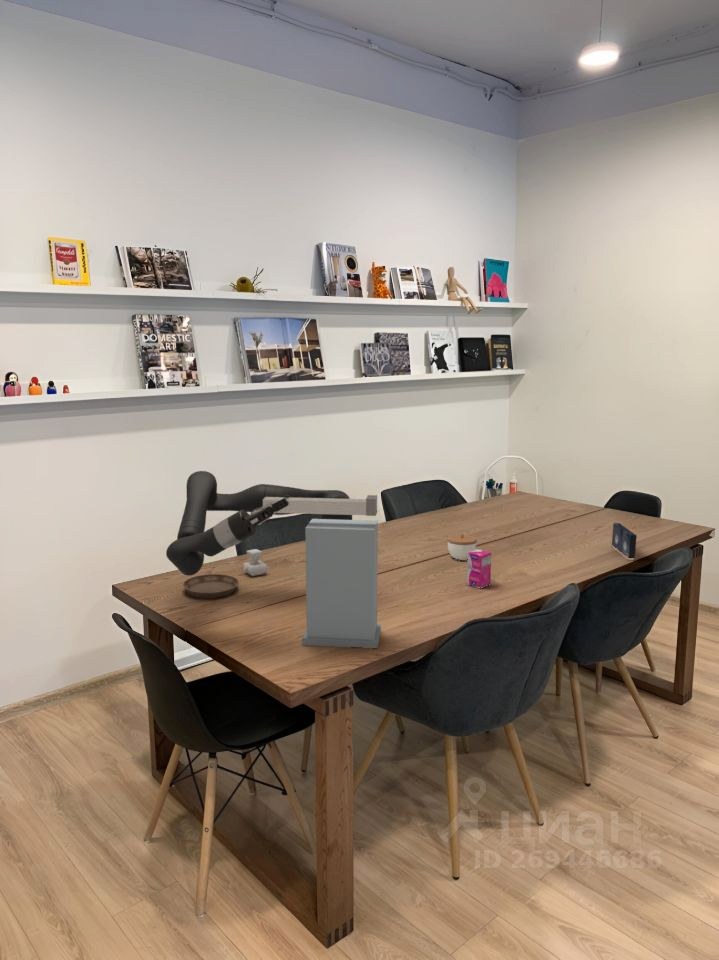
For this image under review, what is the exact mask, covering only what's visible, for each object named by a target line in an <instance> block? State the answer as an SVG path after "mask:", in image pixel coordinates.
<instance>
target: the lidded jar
mask: <svg viewBox="0 0 719 960" xmlns="http://www.w3.org/2000/svg"><path fill="white" fill-rule="evenodd" d="M446 539H447V540H446V541H447V549H448V553H449V554H450V555H451V557H452V558H456V559H468V552H471V551H474V550H476V549H477V548H476V547H477V542H478V541H477V537H475V536H473V535H468V534H464V533H460V534H452V535H449V536H448V537H447V538H446Z"/></svg>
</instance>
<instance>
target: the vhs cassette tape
mask: <svg viewBox="0 0 719 960" xmlns="http://www.w3.org/2000/svg"><path fill="white" fill-rule="evenodd" d="M612 525H613V526H612V527H613V528H612V537H611V546H612V545H613V546H614V547H615V548H617V549H618V550H619V551H620V552H622V553H623V554H624V555H625V556H627V557H628V558H636V549H637V548H636V547H637V537H638V536H637V534H635V533H634V532H633V531H631V530H630V529H628V528H627V527H625V525H622V523H620V522H614V523H613V524H612Z"/></svg>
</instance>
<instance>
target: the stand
mask: <svg viewBox="0 0 719 960" xmlns="http://www.w3.org/2000/svg"><path fill="white" fill-rule="evenodd" d="M378 526H379V521H378V520H365V519H362V520H361V519H352V520H336V519H322V518H311V520H310V521H309V522H308V524H307V525H306V527H305V528H304V529H305V583H306V584H305V595H306V596H305V600H306V604H305V605H306V608H305V610H306V614H305V615H306V630H305V632H304V634H303V636H302V638H301V639H302V640H301V641H302V646H310V647H311V646H312V647H313V646H315V647H331V646H334V647H333V648H337V647H338V648H351V647H362V648H361V649H372V648H377V649H378V648H379V647H378V646H379V641H380V638H379V637H381V632H382V624H380V623H379V624H378V563H379V562H378V559H379V557H378V545H379V541H378V539H379V538H378V537H379V536H378V535H379V527H378Z"/></svg>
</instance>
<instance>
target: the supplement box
mask: <svg viewBox="0 0 719 960" xmlns="http://www.w3.org/2000/svg"><path fill="white" fill-rule="evenodd" d="M466 564H467V566H466V567H467V569H466V573H467V574H466V585H467V584H469V585H472V586H471V587H473V586H477V587H480V588H481V587H484V586H486V585H489V584H490V585H491V574H492V552H490V551H486V550H482V549H480V548H479V549H478V548H476V549H475V550H474V551H471V552H468V560H467V563H466ZM469 585H468V586H469ZM484 588H485V587H484Z"/></svg>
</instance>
